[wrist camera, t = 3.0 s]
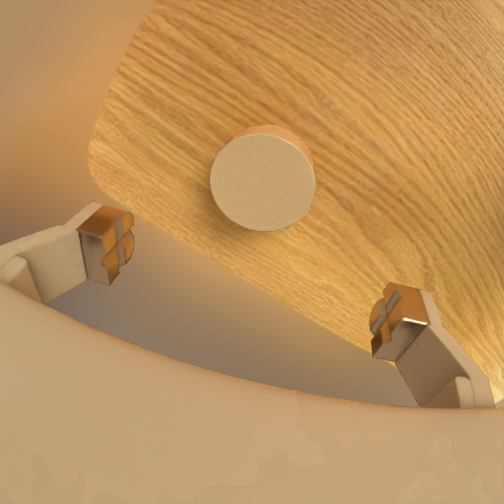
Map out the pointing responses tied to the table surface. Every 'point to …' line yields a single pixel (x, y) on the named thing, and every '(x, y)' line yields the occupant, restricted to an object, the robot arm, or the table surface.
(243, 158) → the beige cylinder disc
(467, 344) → the table surface
